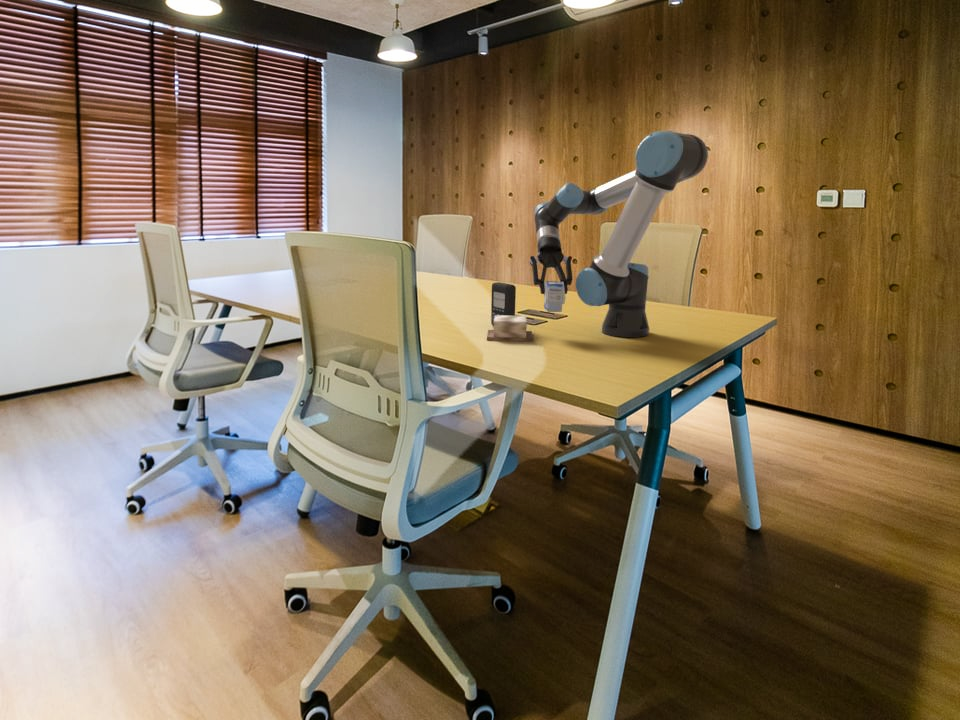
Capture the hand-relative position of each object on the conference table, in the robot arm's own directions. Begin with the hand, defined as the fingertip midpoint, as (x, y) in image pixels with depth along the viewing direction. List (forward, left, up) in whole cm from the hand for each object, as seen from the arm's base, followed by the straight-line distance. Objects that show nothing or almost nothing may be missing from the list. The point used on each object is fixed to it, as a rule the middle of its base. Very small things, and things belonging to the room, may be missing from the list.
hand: (555, 301), depth 184 cm
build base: (+14, -3, -12) cm, 18 cm away
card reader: (+16, -17, -12) cm, 27 cm away
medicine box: (0, -4, -4) cm, 5 cm away
